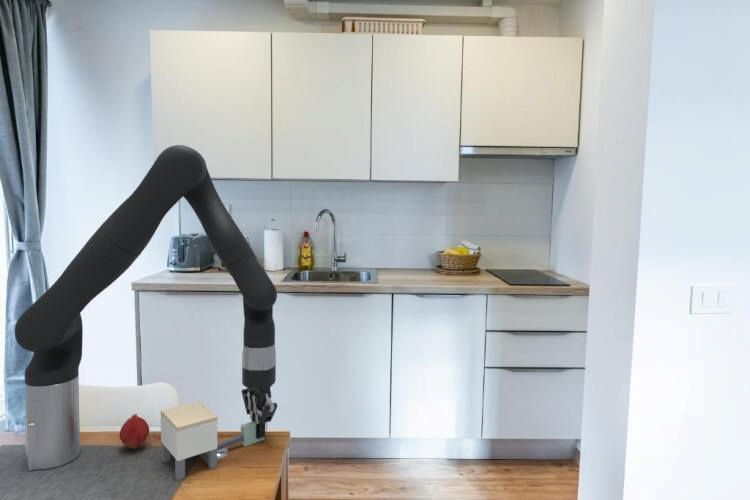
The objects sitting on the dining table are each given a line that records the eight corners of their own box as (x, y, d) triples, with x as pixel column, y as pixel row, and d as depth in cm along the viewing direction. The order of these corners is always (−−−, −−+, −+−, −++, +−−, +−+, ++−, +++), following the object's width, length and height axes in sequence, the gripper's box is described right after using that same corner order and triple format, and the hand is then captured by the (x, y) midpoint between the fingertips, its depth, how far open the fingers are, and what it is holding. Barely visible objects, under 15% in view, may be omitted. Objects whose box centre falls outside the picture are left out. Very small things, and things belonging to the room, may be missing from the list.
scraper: (207, 464, 98) (206, 444, 97) (198, 455, 101) (197, 435, 101) (267, 442, 107) (267, 423, 107) (257, 434, 111) (257, 416, 110)
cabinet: (177, 480, 91) (177, 427, 90) (161, 459, 99) (160, 410, 98) (217, 466, 96) (217, 416, 96) (198, 447, 104) (198, 401, 103)
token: (225, 460, 100) (225, 456, 100) (204, 460, 99) (204, 457, 99) (230, 449, 104) (230, 446, 104) (209, 450, 104) (209, 446, 104)
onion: (114, 450, 102) (113, 415, 101) (138, 439, 107) (137, 406, 106) (131, 457, 99) (130, 421, 98) (154, 446, 104) (154, 411, 104)
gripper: (230, 359, 109) (230, 430, 111) (258, 375, 99) (257, 453, 101) (259, 353, 114) (259, 421, 116) (288, 368, 104) (287, 442, 106)
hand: (258, 435), depth 108 cm, fingers closed
